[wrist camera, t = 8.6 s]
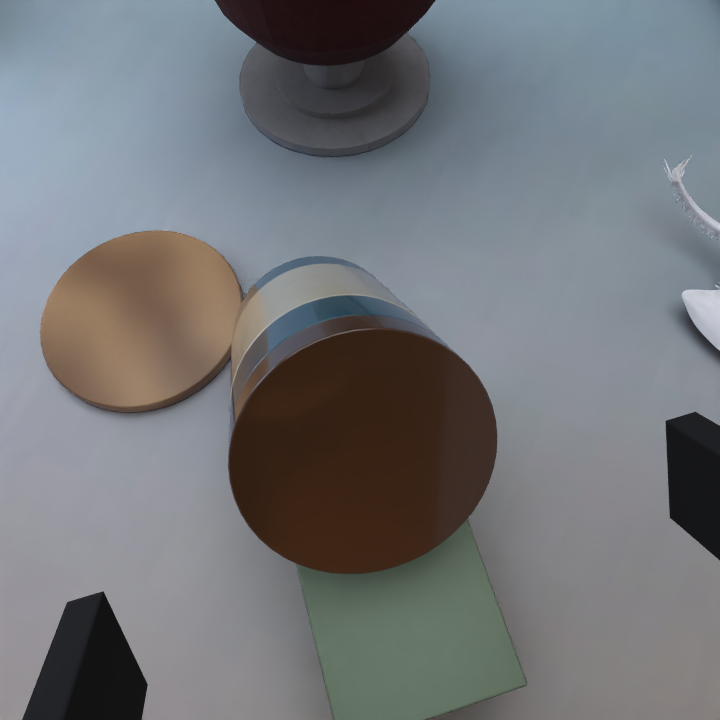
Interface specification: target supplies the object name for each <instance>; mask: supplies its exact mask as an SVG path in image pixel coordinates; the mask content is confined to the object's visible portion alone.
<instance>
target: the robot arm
mask: <svg viewBox="0 0 720 720" xmlns="http://www.w3.org/2000/svg"><path fill="white" fill-rule="evenodd" d="M666 440H667V463H668V485H669V508H670V518H671V519H672V520H673V521H675V522H676V523H677V524H678V525H679V526H680V527H682V528H683V529H684V530H685V531H686V532H687V533H689V534H690V535H691V536H692V537H693V538H694V539H696V540H697V541H698V542H699V543H700V544H701V545H703V546H704V547H705V548H706V549H707V550H708V551H710V552H711V553H712V554H713V555H714V556H715V557H717V558H718V559H719V560H720V426H719V425H717V424H715V423H714V422H712V421H710V420H709V419H707V418H705V417H703V416H702V415H700V414H698V413H696V412H694V413H690V414H687V415H684V416H680V417H677V418H674V419H670V420H667V421H666ZM147 685H148V684H147V682H146V680H145V678H144V676H143V674H142V672H141V670H140V668H139V665H138V663H137V661H136V659H135V657H134V655H133V653H132V651H131V649H130V646H129V644H128V642H127V640H126V638H125V636H124V634H123V632H122V630H121V627H120V625H119V623H118V621H117V619H116V617H115V615H114V613H113V611H112V608H111V606H110V604H109V602H108V600H107V598H106V596H105V594H104V592H100V593H96V594H93V595H90V596H86V597H83V598H80V599H77V600H73V601H70V602H67V604H66V607H65V609H64V612H63V615H62V617H61V620H60V622H59V625H58V628H57V630H56V633H55V636H54V638H53V641H52V643H51V646H50V649H49V651H48V654H47V656H46V659H45V662H44V664H43V667H42V669H41V672H40V675H39V677H38V680H37V683H36V685H35V688H34V690H33V693H32V696H31V698H30V701H29V703H28V706H27V709H26V711H25V714H24V717H23V719H22V720H142V714H143V708H144V702H145V697H146V691H147Z"/></svg>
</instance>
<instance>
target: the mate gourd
mask: <svg viewBox="0 0 720 720" xmlns="http://www.w3.org/2000/svg"><path fill="white" fill-rule="evenodd" d="M215 1H216V3H217V5H218V6H219V8H220V9H221V11H222V13H223V14H224V15H225V16H226V17H227V18H228V19H229V20H230V21H231V22H232V23H233V24H234V25H235V26H236V27H237V28H239V29H240V30H241V31H243V32H244V33H245V34H246V35H248V36H249V37H250V38H252V39H253V40H254V41H256V42H257V44H256V45H255V46H254V47H253V48H252V49H251V50H250V52H249V54H248V55H247V57H246V59H245V61H244V63H243V66H242V69H241V73H240V93H241V97H242V101H243V105H244V108H245V111H246V113H247V115H248V116H249V118H250V120H251V122H252V123H253V124H254V125H255V126H256V127H257V128H258V129H259V131H260V132H261V133H262V134H263V135H265V136H266V137H268V138H269V139H271V140H272V141H274V142H275V143H277V144H279V145H281V146H284V147H286V148H288V149H291V150H293V151H297V152H301V153H305V154H309V155H317V156H330V157H333V156H346V155H354V154H358V153H362V152H367V151H371V150H373V149H375V148H378V147H380V146H383V145H385V144H388V143H389V142H391V141H392V140H394V139H396V138H397V137H399V136H400V135H402V134H403V133H404V132H405V131H406V130H407V129H408V128H410V127H411V126H412V125H413V124H414V123H415V121H416V120H417V119H418V117H419V116H420V114H421V113H422V111H423V109H424V107H425V104H426V101H427V99H428V93H429V83H430V71H429V65H428V61H427V59H426V57H425V55H424V53H423V50H422V49H421V48H420V46H419V45H418V44H417V43H416V41H415V40H414V39H413V38H412V37H411V36H410V35H408V34H407V33H406V32H407V31H408V30H409V29H410V28H411V27H412V26H413V25H414V24H416V23H417V22H418V21H419V20H420V19H421V18H422V17H423V16H424V15H425V14H426V12H427V11H428V10H429V8H430V7H431V6H432V4H433V3H434V2H435V0H215Z"/></svg>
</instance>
